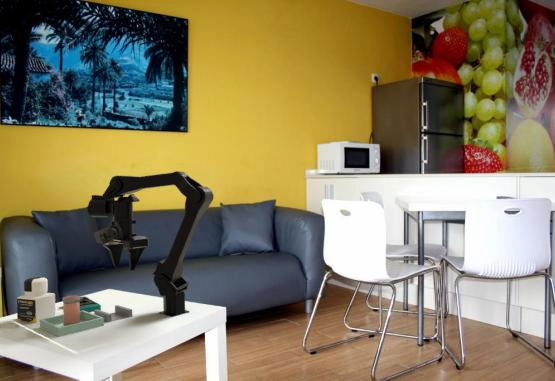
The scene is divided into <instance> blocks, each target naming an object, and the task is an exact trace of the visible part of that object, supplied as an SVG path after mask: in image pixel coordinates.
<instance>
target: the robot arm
mask: <svg viewBox="0 0 555 381" xmlns="http://www.w3.org/2000/svg"><path fill="white" fill-rule="evenodd" d="M169 186H171V187H172V186H175V187H176V188H177V190H179V192H180V193H181V194H182V196H184V197H185V201H184V202H185V203H184V215H183V218H182V221H181V223H180V226H179V228H178V230H177V233H176V235H175V238H174V241H173V244H172V245H171V248H170V250H169V252H168V255H167V257H166V258H164V259H163V260H160V261H157V264H156V268H155V270H154V271H153V273H152V275H154V276H153V282H154V285H155V287H157V290H158V292H159V295H160V297H162V298H163V299H162V300H163V310H161V311H160V312H159V314H160V315H165V316H168V317H172V318H174V317H177V316H180V315H181V316H182V315H185V314H188V313H190V310H187V309H186V293H185V291H187V290H188V288H189V285H190V283H189V282H188V281H187V280H186V278H184V277H183V276H182V274H183V270H184V267H183V265H184V258H185V256H186V253H187V251H188V248H189V246H190V244H191V241H192V239H193V236H194V235H195V234H194V233H195V231H196V229H197V226H198V224H199V222H200V219H201V218H202V216H203V215H204V214H205V212H207V210H208V208H209V207H210V205H211V204H212V202H213V201H214V194H213V191H212V190H211V188H209V187H208V186H204V185H202V184H201V183H200V182H198V181H197V180H195V179H193V178H192V177H190V176H189V175H188V174H187V173H186V172H184V171H178V170H177V171H172V172H168V173H161V174H159V173H158V174H151V175H142V176H135V175H114V176H112V177H111V179H110V181H109V183H108V186H107V188H106V189H105V190H104V192H103V194H102V195H100V194H92V195H91V199H90V200H89V202H88V204H87V207H86V208H87V213H88V215H89V216H90V217H91V218H111V217H112V220H110V222H109V225H108V226H107V227H105V228H104V227H103V228H102V229H100V230H97V231H95V232H94V233H93V235H94V239H95V241H96V242H97V244H101V245H102V247H104V248H105V249H107V250H108V252H109V255H110V258H111V261H112V264H113V266H114V268H119V266H120V262H121V257H122V255H123V254H122V253H123V250H124V251H125V252H126V253H127V256H128V257H127V258H128V266H129V271H135V269H136V267H137V265H138V264H139V260H140V259H141V256H142V254H143V253H144V251H145V249H147V247H149V246H150V243H149V238H148V237H147V236H143V235H137V233H134V224H136V223H137V221H136V219H134V208H133V207H134V206H133V205H134V203H139V202H140V201H141V200H140V198H138V197H137V196H136V195H135V194H134V193H138V192H140V191H142V190H146V189H153V188H160V187H161V188H162V187H169ZM125 195H128V196H125Z"/></svg>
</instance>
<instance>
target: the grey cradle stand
mask: <svg viewBox="0 0 555 381" xmlns="http://www.w3.org/2000/svg"><path fill="white" fill-rule="evenodd" d="M93 314H95V315H97V316H100V317H103V318H104V322H106V323H112V322H115V321H120V320H124V319H129V318H132V317H133V309H132V308H129V307H125V306H122V305H119V304H116V305H114V312H111V313H109V312H106V311H103V310H102V309H101V310H94V313H93Z"/></svg>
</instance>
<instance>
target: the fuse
mask: <svg viewBox="0 0 555 381" xmlns="http://www.w3.org/2000/svg"><path fill="white" fill-rule="evenodd" d="M80 297H81V296H80V295H78V294H77V295H74V294H73V295H66V296H64V297H62V305H63V307H62V308H63V315H64V323H62V324H63V326H68V325H72V324H76V323H81V319H80ZM63 326H62V327H63Z"/></svg>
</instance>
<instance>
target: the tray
mask: <svg viewBox="0 0 555 381" xmlns="http://www.w3.org/2000/svg"><path fill="white" fill-rule="evenodd" d="M80 320H85V321H82V322H81V321H80V323H76V324H72V325H68V326H58V325H60V324H63V323H64V314H59V315H56V316H54V317H50V318H45V319H40V322H39V328H40V329H43V330H44V331H46V332H48V333H51V335H52V334H53V335H54V336H57V337H59V338H60V337H64V336H68V335H72V334H75V333H79V332H80V333H81V332H84V331H88V330H92V329H97V328H100V327H104V326H105V321H104V318H103V317H100V316H97V315H95V314H94V313H92V312H86V311H84V310H83V311H80Z"/></svg>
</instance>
